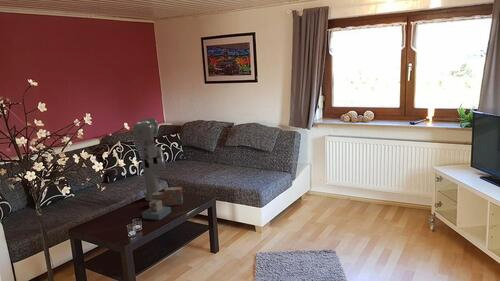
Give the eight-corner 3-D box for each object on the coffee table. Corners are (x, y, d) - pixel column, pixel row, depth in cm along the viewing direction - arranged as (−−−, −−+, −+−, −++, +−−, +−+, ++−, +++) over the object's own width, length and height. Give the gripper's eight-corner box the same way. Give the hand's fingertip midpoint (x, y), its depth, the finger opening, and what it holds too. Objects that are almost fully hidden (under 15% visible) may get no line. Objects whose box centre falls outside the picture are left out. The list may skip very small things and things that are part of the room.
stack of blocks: (153, 207, 281) (151, 191, 278) (155, 204, 287) (153, 188, 284) (182, 204, 281) (180, 189, 279) (183, 202, 287) (181, 186, 285)
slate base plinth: (142, 218, 260) (141, 212, 259) (154, 210, 272) (154, 205, 272) (159, 220, 254) (158, 214, 254) (171, 212, 267) (170, 207, 266)
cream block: (150, 211, 261) (149, 202, 260) (155, 207, 267) (154, 199, 265) (157, 211, 259) (156, 203, 258) (162, 208, 264) (161, 200, 263)
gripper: (145, 145, 258) (148, 169, 262) (160, 139, 274) (162, 162, 277) (136, 145, 261) (139, 168, 265) (151, 139, 276) (154, 162, 280)
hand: (151, 165), depth 271 cm, fingers open, 9 cm apart
